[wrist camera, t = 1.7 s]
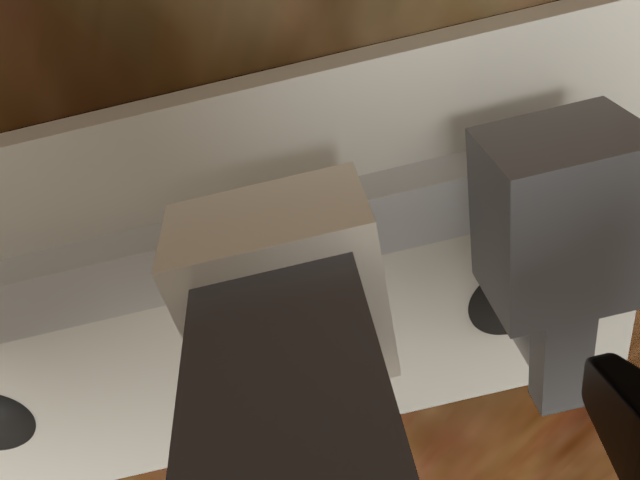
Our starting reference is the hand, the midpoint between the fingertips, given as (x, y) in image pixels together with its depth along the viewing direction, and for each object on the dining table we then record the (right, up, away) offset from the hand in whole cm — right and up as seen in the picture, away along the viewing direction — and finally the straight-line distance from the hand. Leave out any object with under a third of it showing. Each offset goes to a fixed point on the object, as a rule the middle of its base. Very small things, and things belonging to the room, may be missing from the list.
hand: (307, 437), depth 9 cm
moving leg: (0, +2, +6) cm, 6 cm away
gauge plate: (-2, +2, +7) cm, 8 cm away
